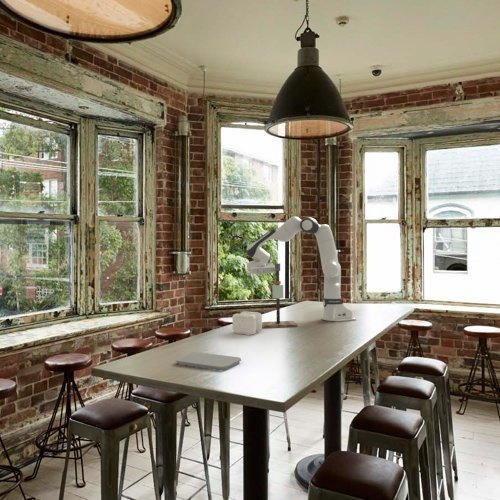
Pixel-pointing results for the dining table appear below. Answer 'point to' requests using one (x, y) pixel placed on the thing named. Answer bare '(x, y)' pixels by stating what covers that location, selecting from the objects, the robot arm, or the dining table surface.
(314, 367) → the dining table surface
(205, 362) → the tablet
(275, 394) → the dining table surface
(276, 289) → the sleeve
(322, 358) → the dining table surface
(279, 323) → the stand
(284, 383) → the dining table surface
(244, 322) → the cable organizer
